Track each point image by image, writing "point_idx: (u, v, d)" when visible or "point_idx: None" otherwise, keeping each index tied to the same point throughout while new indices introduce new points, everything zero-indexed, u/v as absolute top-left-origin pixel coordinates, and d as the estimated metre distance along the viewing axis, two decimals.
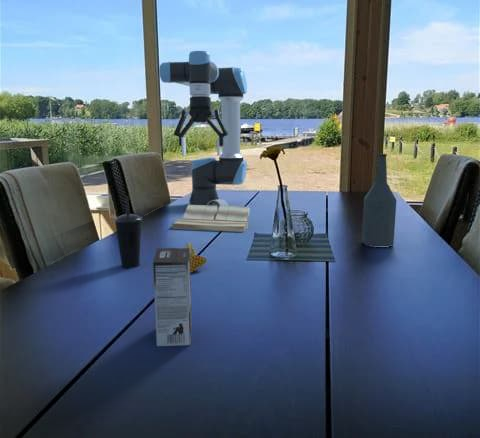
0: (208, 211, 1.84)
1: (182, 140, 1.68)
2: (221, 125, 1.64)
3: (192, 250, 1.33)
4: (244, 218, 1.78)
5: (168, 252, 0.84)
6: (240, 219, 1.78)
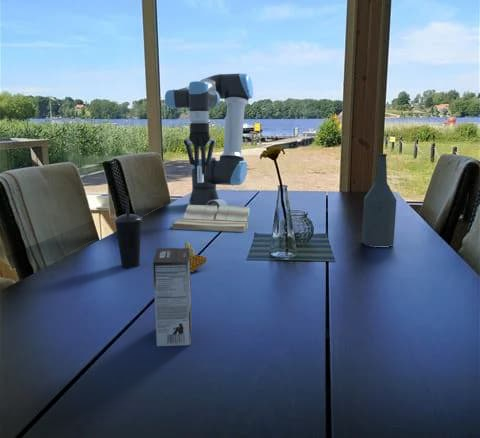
0: (208, 211, 1.84)
1: (198, 169, 1.80)
2: (209, 155, 1.78)
3: (190, 250, 1.33)
4: (244, 218, 1.78)
5: (168, 252, 0.84)
6: (240, 219, 1.78)
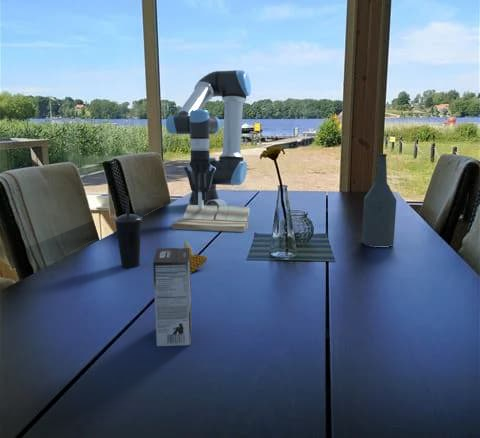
0: (208, 211, 1.84)
1: (199, 195, 1.82)
2: (209, 181, 1.80)
3: (189, 249, 1.34)
4: (244, 218, 1.78)
5: (168, 252, 0.84)
6: (240, 219, 1.78)
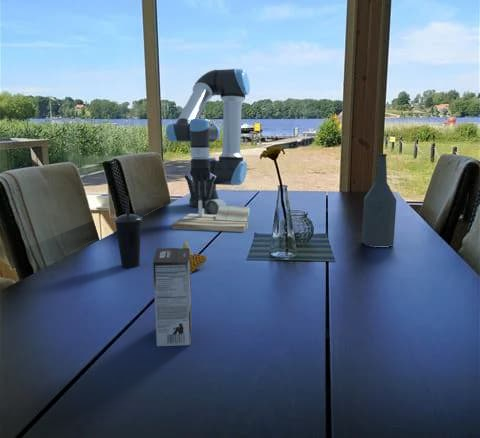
0: (208, 216, 1.85)
1: (199, 203, 1.83)
2: (209, 190, 1.81)
3: None
4: (244, 218, 1.78)
5: (168, 252, 0.84)
6: (240, 219, 1.78)
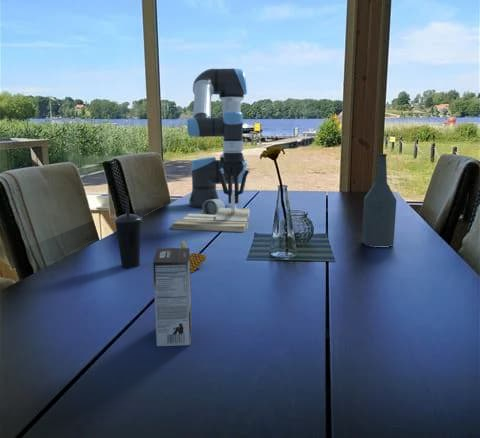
0: (208, 216, 1.85)
1: (231, 198, 1.80)
2: (242, 184, 1.78)
3: None
4: (244, 218, 1.78)
5: (168, 252, 0.84)
6: (240, 219, 1.78)
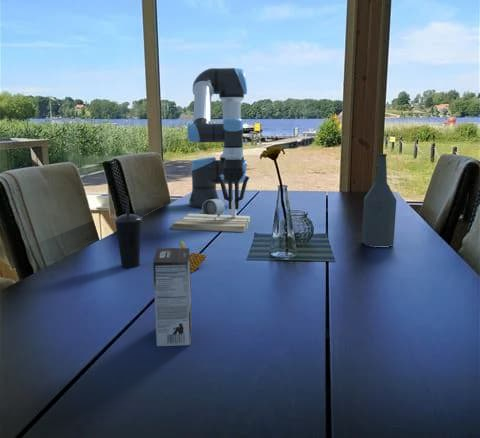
0: (208, 216, 1.85)
1: (232, 204, 1.81)
2: (242, 190, 1.79)
3: None
4: (244, 220, 1.79)
5: (168, 252, 0.84)
6: (240, 220, 1.78)
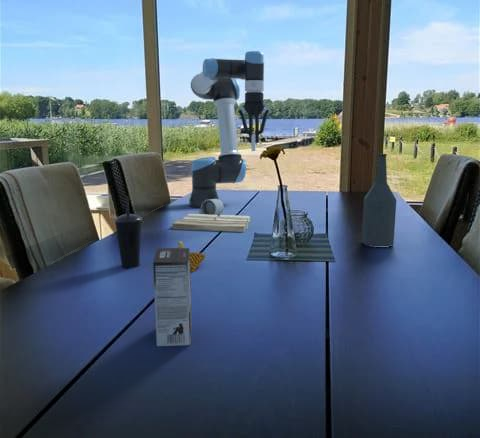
0: (208, 216, 1.85)
1: (252, 137, 1.85)
2: (263, 123, 1.83)
3: None
4: (244, 220, 1.79)
5: (168, 252, 0.84)
6: (240, 220, 1.78)
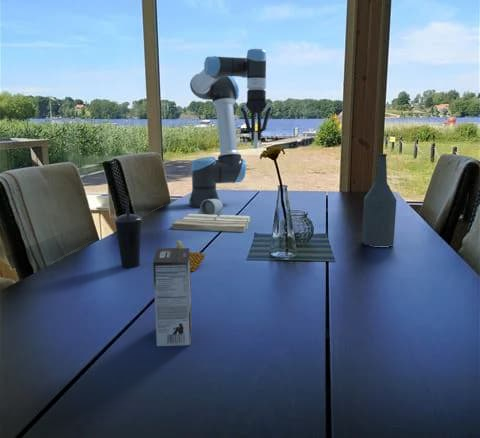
0: (208, 216, 1.85)
1: (254, 135, 1.86)
2: (265, 121, 1.84)
3: None
4: (244, 220, 1.79)
5: (168, 252, 0.84)
6: (240, 220, 1.78)
